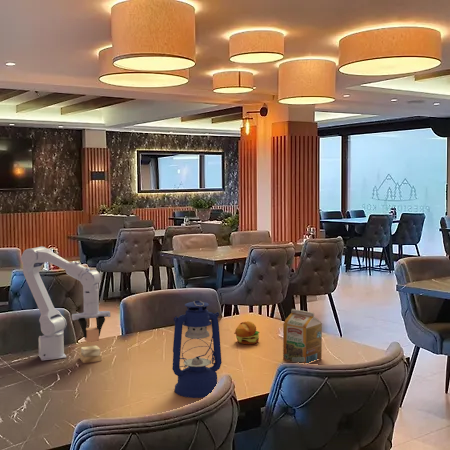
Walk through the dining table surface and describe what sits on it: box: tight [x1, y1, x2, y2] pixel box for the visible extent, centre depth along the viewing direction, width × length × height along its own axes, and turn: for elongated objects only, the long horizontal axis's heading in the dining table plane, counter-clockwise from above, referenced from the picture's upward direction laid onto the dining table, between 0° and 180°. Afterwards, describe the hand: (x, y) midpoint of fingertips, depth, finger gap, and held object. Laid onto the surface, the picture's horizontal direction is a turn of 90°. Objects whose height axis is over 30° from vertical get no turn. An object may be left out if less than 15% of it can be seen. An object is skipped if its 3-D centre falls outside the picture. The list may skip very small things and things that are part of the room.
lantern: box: [171, 300, 223, 399], centre depth 203 cm, size 17×15×30 cm
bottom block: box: [78, 352, 103, 364], centre depth 239 cm, size 7×7×2 cm
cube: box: [84, 326, 100, 343], centre depth 237 cm, size 4×4×4 cm
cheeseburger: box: [233, 320, 260, 345], centre depth 262 cm, size 10×11×10 cm
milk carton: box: [282, 308, 323, 364], centre depth 237 cm, size 11×11×19 cm
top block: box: [80, 345, 101, 357], centre depth 238 cm, size 6×6×2 cm
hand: (91, 336), depth 237 cm, fingers closed on cube, 4 cm apart
